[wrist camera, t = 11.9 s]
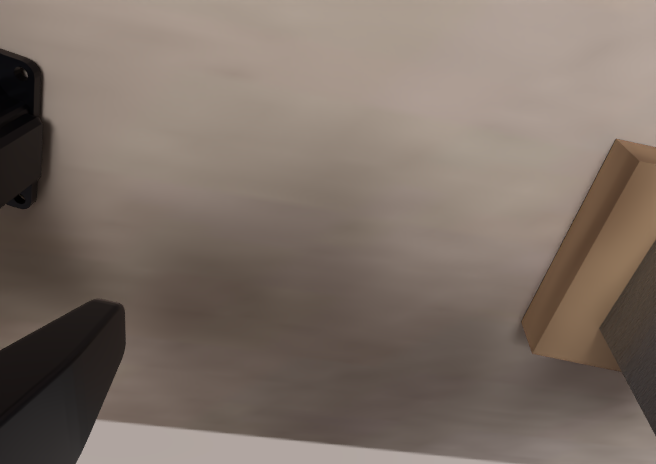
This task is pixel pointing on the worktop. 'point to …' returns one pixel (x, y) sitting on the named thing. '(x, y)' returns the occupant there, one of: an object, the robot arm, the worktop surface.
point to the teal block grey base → (636, 334)
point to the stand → (596, 260)
